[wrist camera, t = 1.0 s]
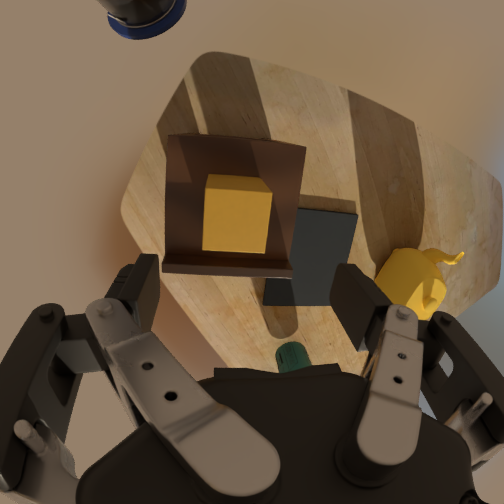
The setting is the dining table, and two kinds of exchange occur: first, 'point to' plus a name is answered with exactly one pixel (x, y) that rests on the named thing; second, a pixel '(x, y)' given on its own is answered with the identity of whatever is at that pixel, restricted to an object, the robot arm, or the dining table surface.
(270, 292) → the slate mat
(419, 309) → the teapot
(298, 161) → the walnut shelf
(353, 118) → the dining table surface
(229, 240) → the yellow block
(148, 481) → the robot arm
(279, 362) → the beverage bottle
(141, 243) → the dining table surface
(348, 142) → the dining table surface
